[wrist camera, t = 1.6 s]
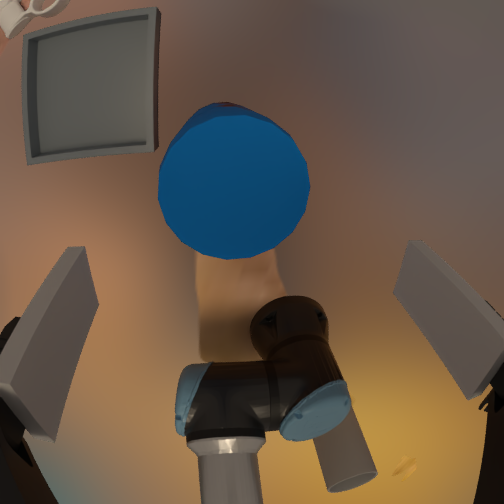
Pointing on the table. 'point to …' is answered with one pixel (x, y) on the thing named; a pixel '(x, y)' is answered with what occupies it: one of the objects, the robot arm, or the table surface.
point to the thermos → (232, 182)
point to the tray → (92, 87)
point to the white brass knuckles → (25, 14)
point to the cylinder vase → (345, 456)
